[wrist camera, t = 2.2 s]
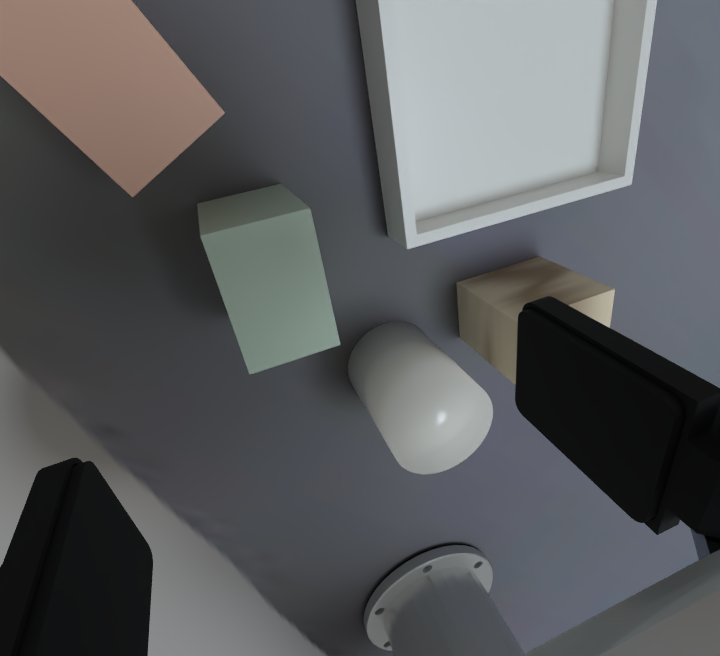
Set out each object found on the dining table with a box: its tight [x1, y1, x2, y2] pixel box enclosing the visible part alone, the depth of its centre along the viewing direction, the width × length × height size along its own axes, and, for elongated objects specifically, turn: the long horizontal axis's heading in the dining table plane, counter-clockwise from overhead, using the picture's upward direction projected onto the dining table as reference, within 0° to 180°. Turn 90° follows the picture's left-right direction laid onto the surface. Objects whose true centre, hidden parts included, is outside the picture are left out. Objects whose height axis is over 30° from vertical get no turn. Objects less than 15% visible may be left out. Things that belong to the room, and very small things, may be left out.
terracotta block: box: [0, 0, 225, 197], centre depth 15 cm, size 6×4×6 cm, turn 37°
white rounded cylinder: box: [348, 321, 493, 474], centre depth 25 cm, size 6×6×7 cm
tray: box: [356, 0, 657, 249], centre depth 21 cm, size 14×14×2 cm
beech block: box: [456, 256, 615, 385], centre depth 26 cm, size 6×4×6 cm, turn 100°
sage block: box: [197, 184, 340, 374], centre depth 20 cm, size 6×4×6 cm, turn 10°
